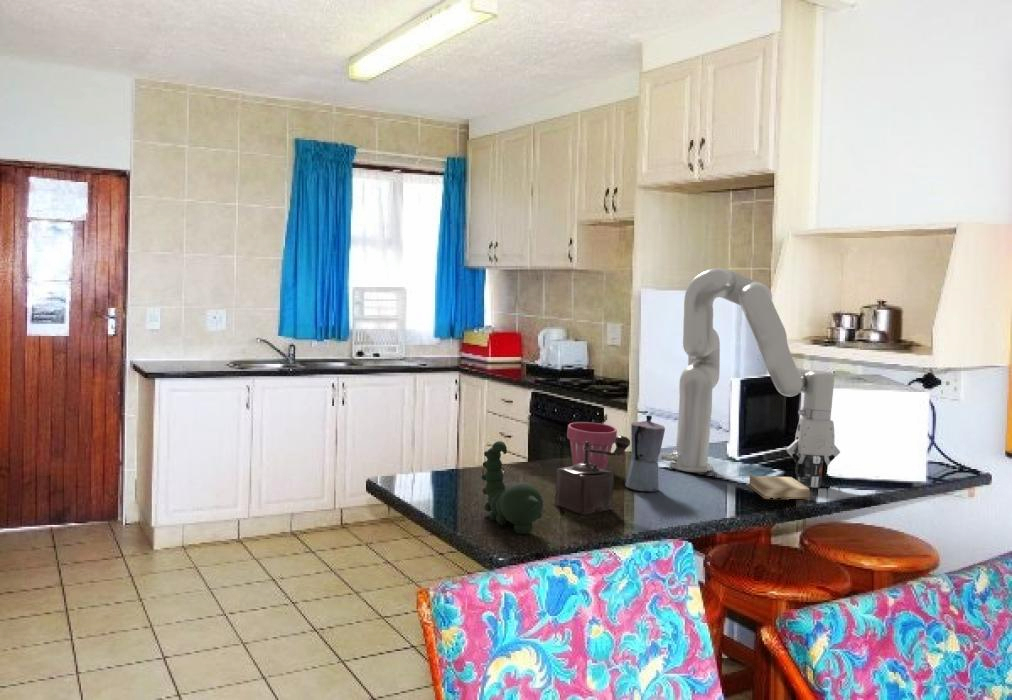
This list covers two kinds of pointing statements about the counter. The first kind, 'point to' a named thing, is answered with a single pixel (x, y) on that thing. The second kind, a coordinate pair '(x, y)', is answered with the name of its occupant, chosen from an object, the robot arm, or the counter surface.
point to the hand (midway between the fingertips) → (810, 476)
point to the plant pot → (591, 441)
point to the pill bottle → (812, 471)
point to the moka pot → (645, 455)
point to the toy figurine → (509, 495)
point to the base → (778, 487)
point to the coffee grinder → (587, 483)
